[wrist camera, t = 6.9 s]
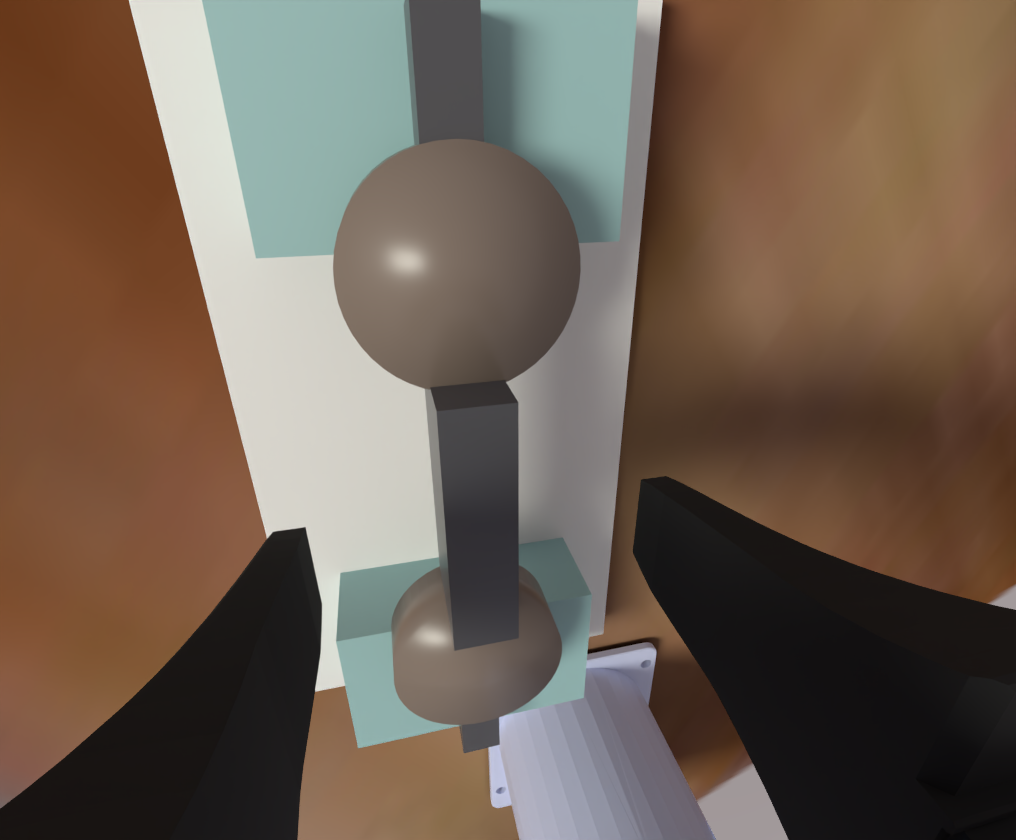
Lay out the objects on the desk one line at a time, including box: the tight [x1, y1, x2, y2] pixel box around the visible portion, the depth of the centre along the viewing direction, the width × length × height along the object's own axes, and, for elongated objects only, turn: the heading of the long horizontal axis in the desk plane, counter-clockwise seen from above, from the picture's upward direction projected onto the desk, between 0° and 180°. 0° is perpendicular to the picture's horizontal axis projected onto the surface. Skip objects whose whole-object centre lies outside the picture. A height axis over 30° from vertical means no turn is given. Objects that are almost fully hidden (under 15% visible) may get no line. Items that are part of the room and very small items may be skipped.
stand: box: [129, 0, 663, 748], centre depth 16 cm, size 22×12×4 cm, turn 1°
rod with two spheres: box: [333, 0, 581, 753], centre depth 13 cm, size 20×5×3 cm, turn 1°
